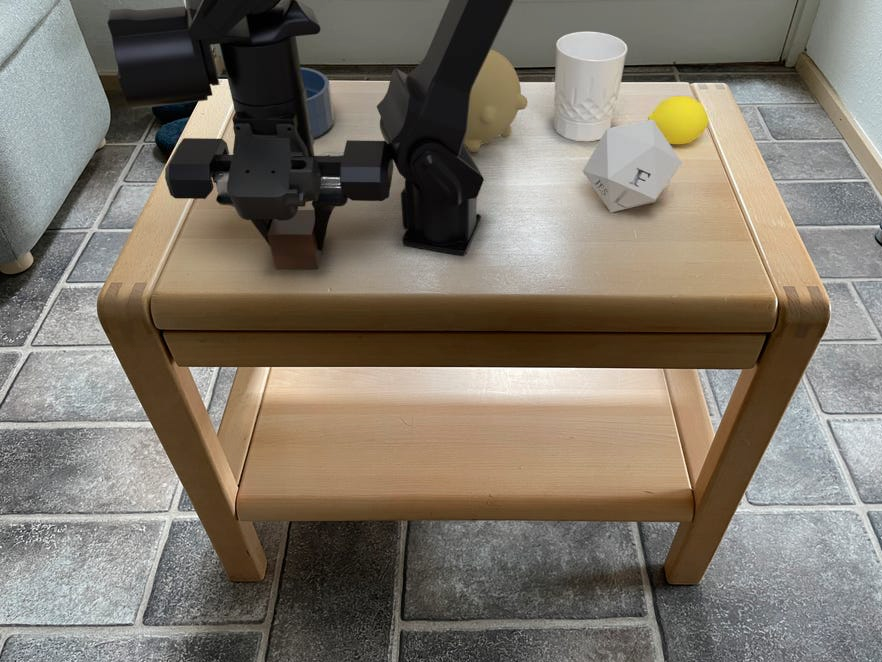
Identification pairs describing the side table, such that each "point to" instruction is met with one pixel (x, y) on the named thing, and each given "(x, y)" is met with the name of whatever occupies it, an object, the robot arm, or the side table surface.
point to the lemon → (680, 119)
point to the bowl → (318, 101)
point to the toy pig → (493, 102)
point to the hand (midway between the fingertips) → (298, 247)
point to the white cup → (587, 83)
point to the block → (295, 242)
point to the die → (631, 165)
